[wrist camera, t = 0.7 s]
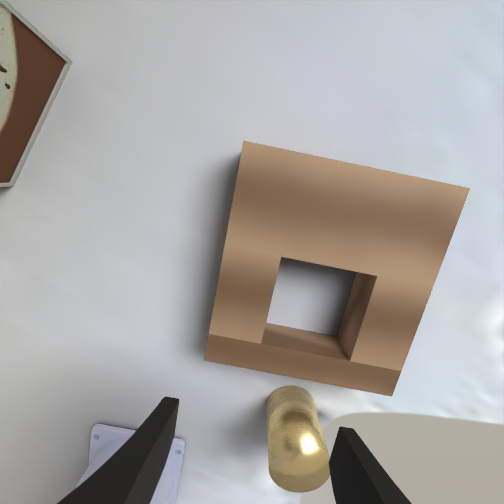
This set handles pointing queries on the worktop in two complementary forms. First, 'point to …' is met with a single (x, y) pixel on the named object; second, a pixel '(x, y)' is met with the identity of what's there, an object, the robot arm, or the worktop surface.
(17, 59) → the food container
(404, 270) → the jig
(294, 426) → the gold rounded cylinder
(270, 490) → the worktop surface
